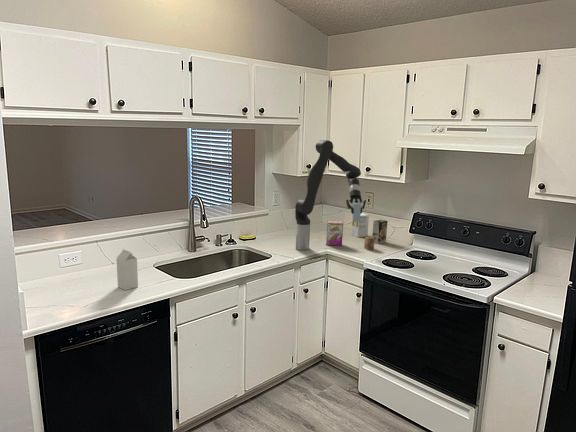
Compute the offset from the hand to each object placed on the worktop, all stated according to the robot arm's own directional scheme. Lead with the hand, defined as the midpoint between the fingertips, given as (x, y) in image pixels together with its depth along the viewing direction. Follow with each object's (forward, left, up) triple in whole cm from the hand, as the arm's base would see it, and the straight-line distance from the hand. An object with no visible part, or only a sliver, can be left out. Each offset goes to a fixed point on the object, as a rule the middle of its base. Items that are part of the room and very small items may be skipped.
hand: (356, 213), depth 295 cm
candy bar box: (-12, +16, -26) cm, 33 cm away
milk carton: (-126, -76, -26) cm, 150 cm away
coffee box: (+22, +26, -26) cm, 43 cm away
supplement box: (+11, +46, -26) cm, 54 cm away
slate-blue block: (0, +2, -6) cm, 6 cm away
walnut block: (+11, +7, -26) cm, 29 cm away
